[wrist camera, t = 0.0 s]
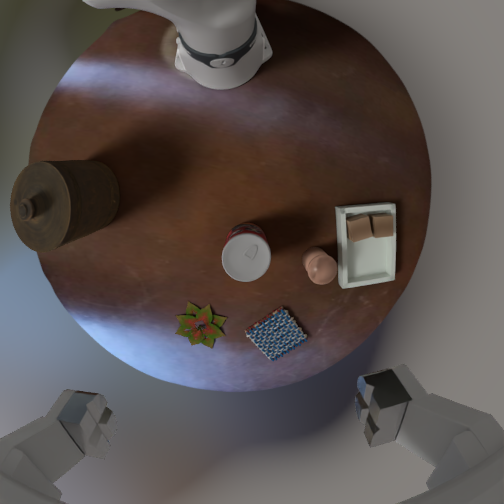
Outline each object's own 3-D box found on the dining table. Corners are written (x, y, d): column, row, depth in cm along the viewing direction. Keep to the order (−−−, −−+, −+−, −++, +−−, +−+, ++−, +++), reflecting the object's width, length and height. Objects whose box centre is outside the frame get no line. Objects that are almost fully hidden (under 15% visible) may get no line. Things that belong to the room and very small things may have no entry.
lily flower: (216, 354, 63) (214, 366, 58) (167, 334, 61) (162, 345, 57) (237, 312, 60) (236, 323, 56) (184, 290, 59) (179, 299, 54)
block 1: (342, 218, 54) (349, 221, 50) (360, 213, 54) (368, 216, 50) (346, 237, 55) (353, 242, 51) (364, 232, 55) (372, 236, 51)
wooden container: (54, 189, 51) (-15, 202, 30) (98, 146, 50) (31, 139, 28) (85, 243, 55) (23, 278, 34) (133, 204, 53) (74, 224, 32)
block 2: (366, 214, 54) (375, 217, 50) (384, 212, 54) (393, 215, 50) (367, 233, 55) (375, 238, 51) (384, 231, 55) (393, 236, 51)
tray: (335, 206, 54) (340, 208, 51) (388, 202, 54) (395, 203, 51) (338, 283, 58) (342, 288, 55) (388, 275, 58) (394, 279, 55)
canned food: (271, 229, 55) (278, 242, 45) (258, 267, 57) (260, 288, 46) (233, 216, 54) (230, 226, 44) (220, 254, 56) (215, 274, 46)
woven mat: (282, 302, 60) (283, 306, 58) (308, 335, 62) (310, 340, 60) (242, 328, 61) (242, 333, 59) (270, 359, 64) (271, 364, 62)
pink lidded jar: (299, 247, 56) (307, 257, 49) (326, 244, 56) (336, 253, 49) (301, 273, 58) (308, 286, 51) (327, 269, 58) (337, 282, 51)
